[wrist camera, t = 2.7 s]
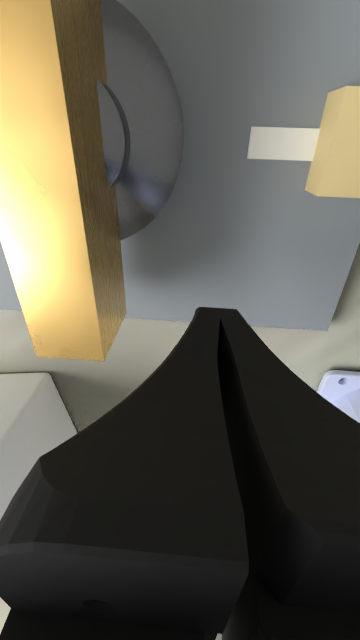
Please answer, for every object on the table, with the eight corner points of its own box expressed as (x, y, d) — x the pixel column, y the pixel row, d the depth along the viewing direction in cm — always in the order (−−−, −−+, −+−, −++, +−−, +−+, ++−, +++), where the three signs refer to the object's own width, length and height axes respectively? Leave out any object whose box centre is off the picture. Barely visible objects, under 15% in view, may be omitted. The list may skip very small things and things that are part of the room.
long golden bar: (195, -230, 6) (183, -637, 3) (179, 311, 13) (170, 366, 10) (-123, -218, 6) (-449, -574, 3) (28, 301, 13) (-27, 351, 10)
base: (523, -253, 7) (652, -414, 5) (322, 322, 15) (339, 349, 13) (-330, -223, 8) (-507, -343, 6) (-71, 297, 16) (-109, 318, 14)
